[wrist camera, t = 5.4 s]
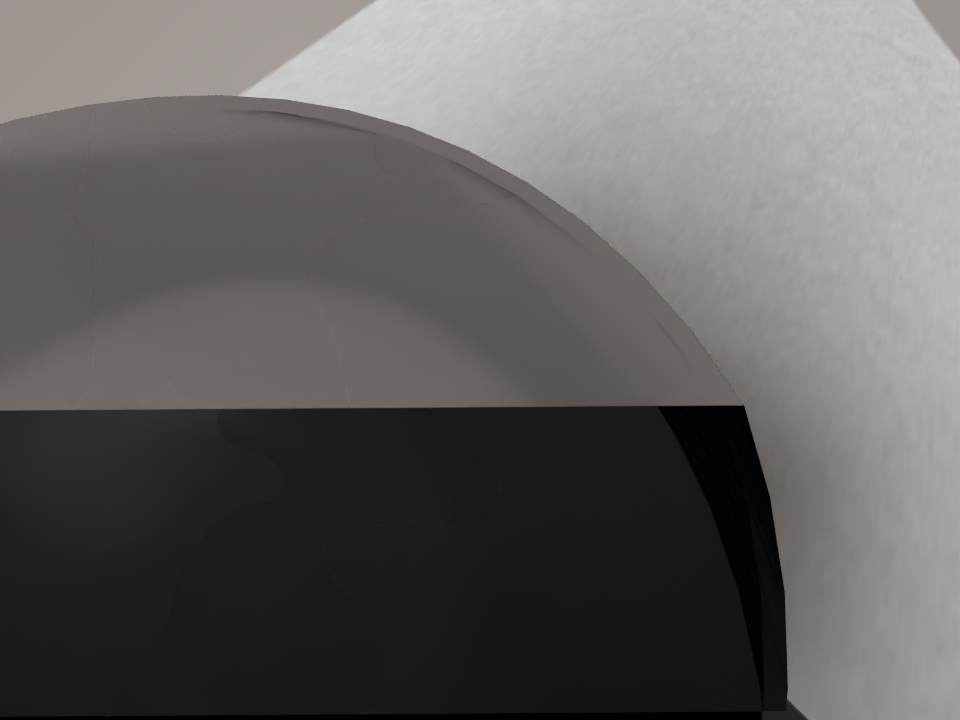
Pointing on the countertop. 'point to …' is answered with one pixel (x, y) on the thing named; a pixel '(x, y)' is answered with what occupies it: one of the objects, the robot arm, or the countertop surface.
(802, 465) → the countertop surface
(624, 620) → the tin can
